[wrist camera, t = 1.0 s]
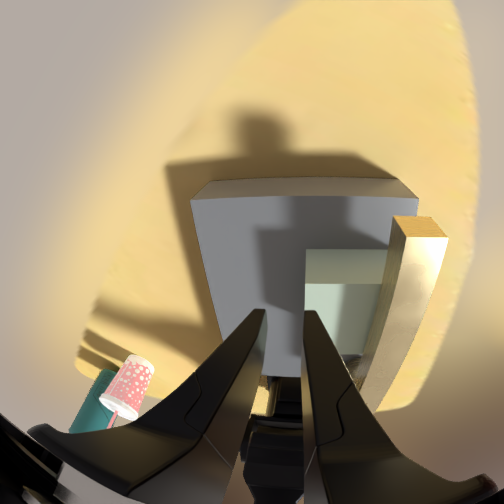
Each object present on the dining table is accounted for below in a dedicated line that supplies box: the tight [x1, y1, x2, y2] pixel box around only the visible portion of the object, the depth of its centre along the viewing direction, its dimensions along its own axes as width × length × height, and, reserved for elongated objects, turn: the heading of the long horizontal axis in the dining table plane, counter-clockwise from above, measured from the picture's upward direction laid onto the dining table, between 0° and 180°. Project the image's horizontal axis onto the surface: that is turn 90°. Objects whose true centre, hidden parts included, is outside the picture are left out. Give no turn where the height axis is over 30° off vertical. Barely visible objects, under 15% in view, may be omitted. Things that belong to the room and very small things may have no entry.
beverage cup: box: [99, 355, 154, 429], centre depth 31 cm, size 6×6×14 cm
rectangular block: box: [305, 249, 388, 355], centre depth 16 cm, size 6×6×4 cm
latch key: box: [345, 216, 448, 414], centre depth 16 cm, size 17×2×6 cm, turn 6°
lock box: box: [190, 177, 419, 377], centre depth 21 cm, size 18×14×4 cm
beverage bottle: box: [69, 369, 118, 433], centre depth 33 cm, size 6×7×20 cm
